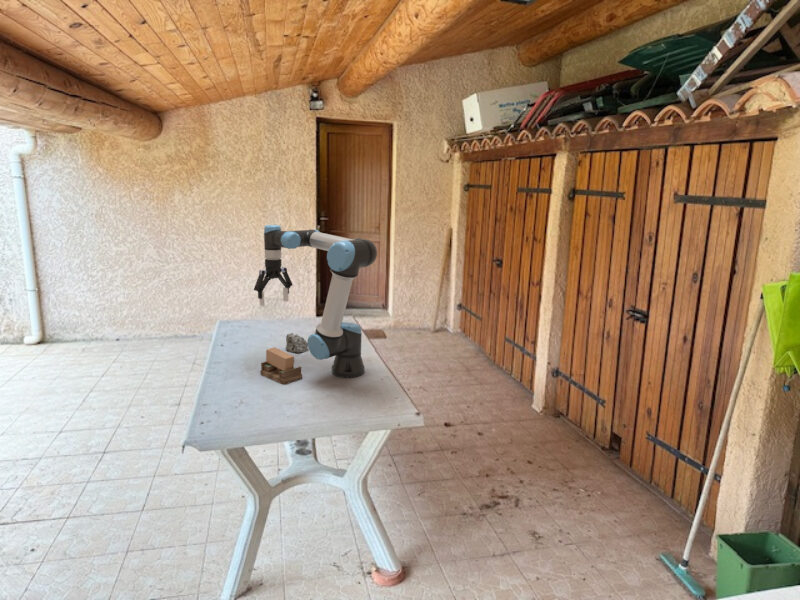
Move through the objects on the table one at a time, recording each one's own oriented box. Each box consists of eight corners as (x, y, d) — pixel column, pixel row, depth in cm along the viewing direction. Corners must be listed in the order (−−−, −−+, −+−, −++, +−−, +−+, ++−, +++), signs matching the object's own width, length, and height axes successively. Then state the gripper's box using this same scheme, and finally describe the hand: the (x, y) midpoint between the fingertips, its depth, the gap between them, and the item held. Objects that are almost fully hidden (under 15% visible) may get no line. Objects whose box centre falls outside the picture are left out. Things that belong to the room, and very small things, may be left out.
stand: (302, 378, 227) (302, 366, 226) (284, 384, 220) (283, 372, 218) (278, 369, 238) (278, 357, 236) (260, 374, 230) (260, 363, 229)
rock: (278, 353, 265) (281, 342, 258) (286, 340, 272) (289, 328, 265) (301, 364, 265) (305, 353, 258) (308, 350, 272) (312, 339, 265)
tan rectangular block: (293, 369, 225) (294, 356, 224) (285, 371, 222) (285, 358, 220) (274, 359, 234) (274, 347, 232) (266, 361, 231) (266, 349, 229)
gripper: (289, 255, 250) (290, 298, 254) (245, 260, 231) (246, 305, 235) (299, 257, 245) (300, 300, 250) (254, 261, 226) (256, 308, 231)
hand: (274, 303), depth 242 cm, fingers open, 13 cm apart
